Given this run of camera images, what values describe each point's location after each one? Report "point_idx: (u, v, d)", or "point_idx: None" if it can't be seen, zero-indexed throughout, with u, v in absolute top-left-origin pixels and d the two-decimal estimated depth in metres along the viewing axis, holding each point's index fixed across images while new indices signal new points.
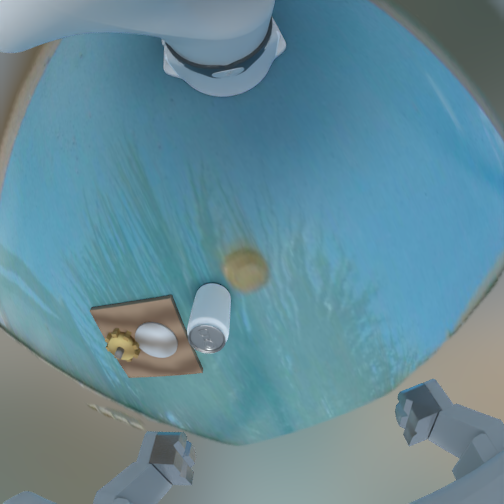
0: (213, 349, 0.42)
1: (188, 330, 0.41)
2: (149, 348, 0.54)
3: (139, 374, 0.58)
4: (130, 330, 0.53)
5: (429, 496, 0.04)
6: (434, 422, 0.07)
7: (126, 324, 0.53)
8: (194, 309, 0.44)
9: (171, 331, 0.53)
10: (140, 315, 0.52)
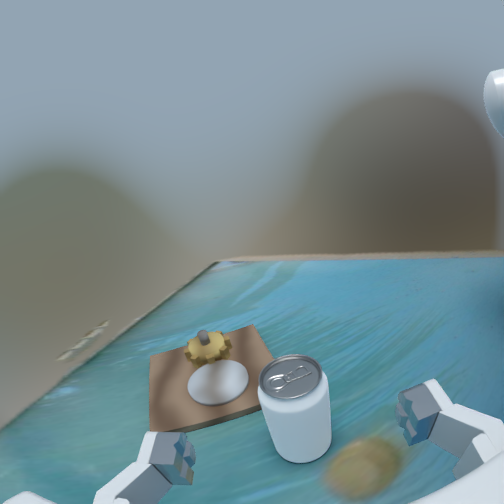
0: (266, 389, 0.22)
1: None
2: (204, 374, 0.39)
3: (155, 365, 0.44)
4: (230, 358, 0.43)
5: (429, 496, 0.04)
6: (434, 422, 0.07)
7: (239, 354, 0.44)
8: None
9: (236, 396, 0.34)
10: (257, 366, 0.40)
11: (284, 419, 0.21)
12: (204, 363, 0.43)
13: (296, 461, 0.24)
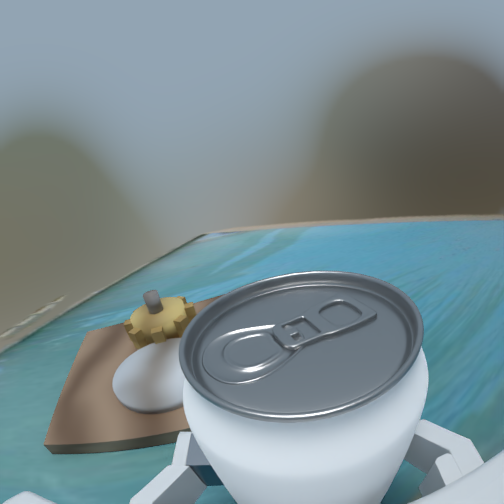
0: (204, 372, 0.06)
1: None
2: (144, 358, 0.23)
3: (87, 344, 0.28)
4: None
5: (429, 496, 0.04)
6: None
7: None
8: None
9: None
10: None
11: (269, 494, 0.04)
12: (150, 342, 0.26)
13: None
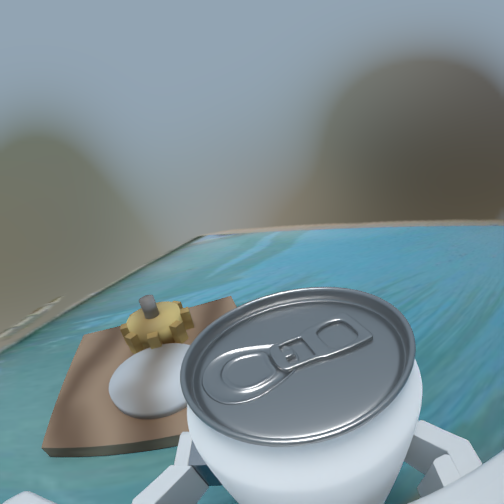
0: (203, 390, 0.06)
1: None
2: (140, 363, 0.23)
3: (84, 347, 0.28)
4: (187, 342, 0.27)
5: (429, 496, 0.04)
6: None
7: None
8: None
9: (181, 406, 0.18)
10: None
11: (259, 502, 0.05)
12: (146, 347, 0.26)
13: None
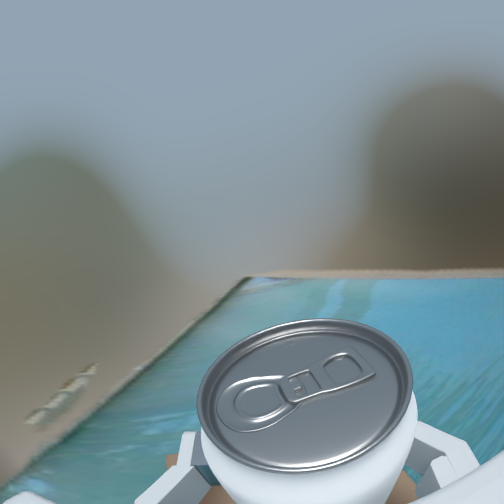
0: (217, 417, 0.06)
1: None
2: None
3: None
4: None
5: (429, 496, 0.04)
6: None
7: None
8: None
9: None
10: None
11: None
12: None
13: None
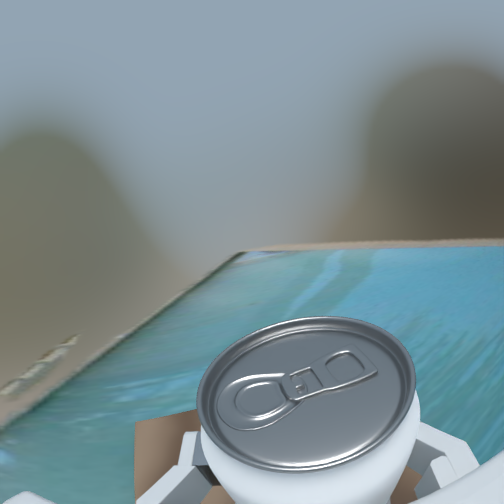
0: (217, 415, 0.06)
1: None
2: None
3: (145, 449, 0.17)
4: None
5: (429, 496, 0.04)
6: None
7: None
8: None
9: None
10: None
11: None
12: None
13: None
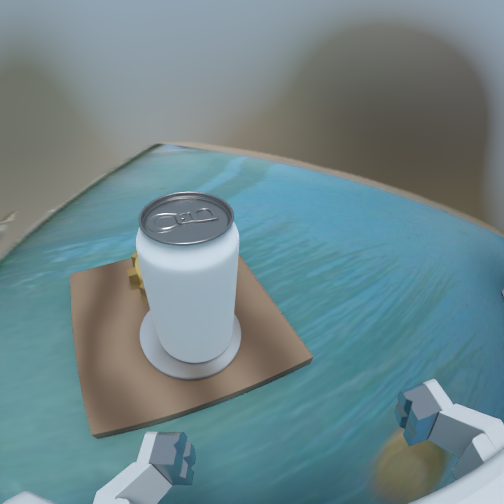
0: (147, 227, 0.15)
1: None
2: None
3: (79, 293, 0.26)
4: None
5: (429, 496, 0.04)
6: (434, 422, 0.07)
7: None
8: None
9: (228, 365, 0.22)
10: (248, 308, 0.28)
11: (162, 281, 0.15)
12: None
13: (179, 358, 0.21)
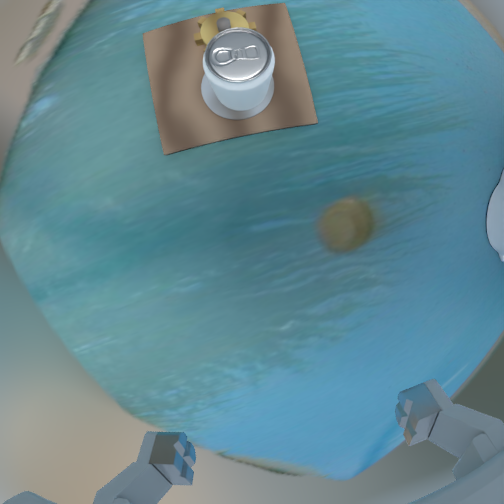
0: (210, 60, 0.20)
1: None
2: None
3: (152, 50, 0.29)
4: None
5: (429, 496, 0.04)
6: (434, 422, 0.07)
7: None
8: None
9: (258, 113, 0.32)
10: (285, 72, 0.31)
11: (219, 89, 0.23)
12: None
13: (226, 106, 0.31)
